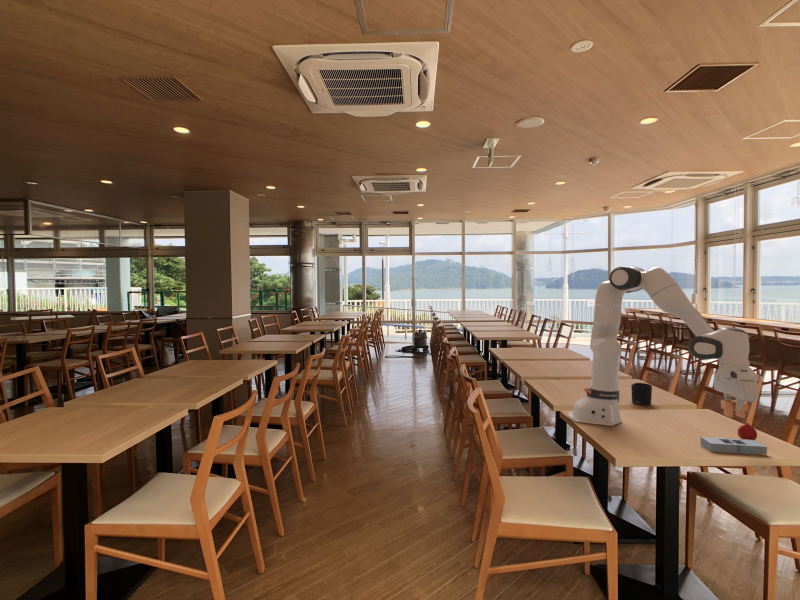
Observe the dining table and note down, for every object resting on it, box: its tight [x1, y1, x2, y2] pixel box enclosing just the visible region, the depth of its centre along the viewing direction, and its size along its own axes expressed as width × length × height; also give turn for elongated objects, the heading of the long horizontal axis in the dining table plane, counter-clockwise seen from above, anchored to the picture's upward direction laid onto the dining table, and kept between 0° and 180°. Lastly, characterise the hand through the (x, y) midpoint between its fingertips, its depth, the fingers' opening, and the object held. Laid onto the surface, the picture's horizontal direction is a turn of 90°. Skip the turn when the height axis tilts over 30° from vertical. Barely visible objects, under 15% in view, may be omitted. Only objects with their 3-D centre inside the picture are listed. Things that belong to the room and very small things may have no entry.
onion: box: [737, 422, 758, 441], centre depth 160 cm, size 6×6×8 cm
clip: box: [720, 399, 749, 419], centre depth 152 cm, size 7×4×6 cm, turn 80°
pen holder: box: [631, 382, 653, 406], centre depth 217 cm, size 9×9×10 cm
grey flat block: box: [700, 436, 768, 455], centre depth 153 cm, size 18×7×3 cm, turn 79°
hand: (733, 408), depth 152 cm, fingers closed on clip, 3 cm apart
